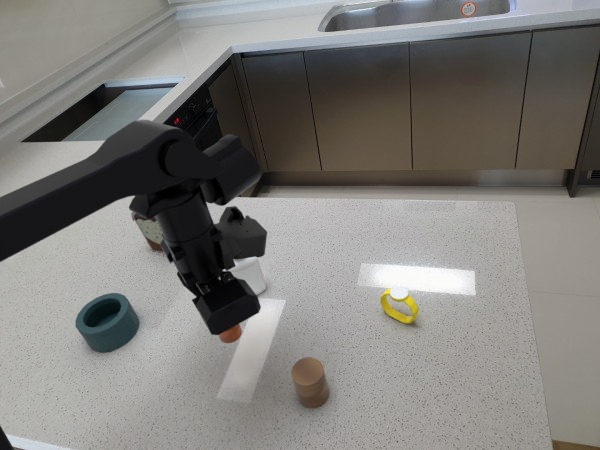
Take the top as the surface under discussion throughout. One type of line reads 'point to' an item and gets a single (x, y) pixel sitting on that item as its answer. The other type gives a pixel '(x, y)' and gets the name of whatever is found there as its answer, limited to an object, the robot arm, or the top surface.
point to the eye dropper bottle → (249, 273)
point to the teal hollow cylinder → (107, 322)
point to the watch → (399, 296)
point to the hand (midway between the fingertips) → (223, 317)
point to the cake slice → (149, 231)
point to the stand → (310, 382)
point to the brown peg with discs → (231, 334)
